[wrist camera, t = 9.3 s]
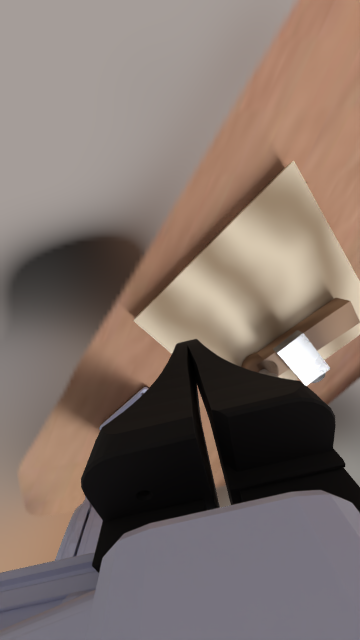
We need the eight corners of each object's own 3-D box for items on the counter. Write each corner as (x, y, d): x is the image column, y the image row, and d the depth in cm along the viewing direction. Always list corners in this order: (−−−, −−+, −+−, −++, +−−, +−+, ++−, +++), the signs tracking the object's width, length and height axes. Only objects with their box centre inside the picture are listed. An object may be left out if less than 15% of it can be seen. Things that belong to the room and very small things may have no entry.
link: (251, 382, 22) (265, 403, 19) (235, 364, 21) (247, 383, 18) (346, 319, 20) (380, 330, 17) (334, 295, 19) (368, 302, 15)
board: (241, 409, 25) (244, 416, 24) (135, 317, 19) (133, 320, 18) (369, 316, 21) (380, 319, 20) (284, 167, 16) (293, 160, 15)
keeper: (289, 371, 22) (308, 388, 19) (261, 339, 20) (277, 353, 17) (310, 356, 21) (332, 372, 18) (283, 321, 20) (303, 333, 17)
